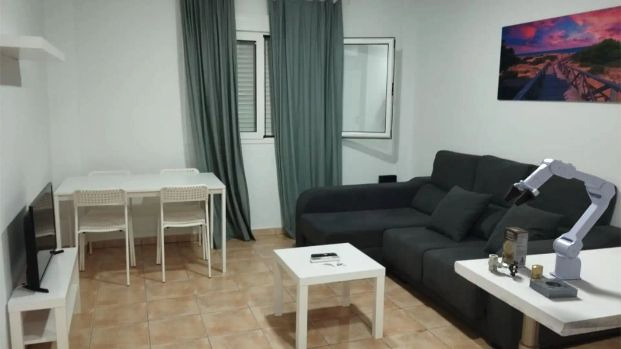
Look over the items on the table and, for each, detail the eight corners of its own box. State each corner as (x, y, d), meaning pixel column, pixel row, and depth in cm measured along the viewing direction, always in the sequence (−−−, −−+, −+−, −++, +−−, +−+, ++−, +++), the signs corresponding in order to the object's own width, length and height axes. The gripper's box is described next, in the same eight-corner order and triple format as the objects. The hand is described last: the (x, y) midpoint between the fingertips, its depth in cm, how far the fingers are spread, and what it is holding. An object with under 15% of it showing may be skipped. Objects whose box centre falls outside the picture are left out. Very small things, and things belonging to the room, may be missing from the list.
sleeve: (538, 273, 217) (539, 264, 216) (544, 276, 214) (545, 267, 213) (531, 273, 216) (532, 264, 216) (536, 276, 213) (537, 267, 212)
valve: (484, 270, 219) (511, 278, 211) (485, 255, 218) (512, 262, 210) (491, 267, 224) (518, 274, 215) (492, 252, 223) (519, 259, 214)
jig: (556, 285, 203) (557, 278, 203) (577, 296, 192) (577, 289, 191) (529, 286, 201) (530, 279, 201) (548, 298, 189) (549, 290, 189)
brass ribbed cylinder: (537, 278, 211) (538, 264, 210) (543, 282, 207) (544, 267, 206) (528, 279, 210) (529, 265, 209) (534, 282, 206) (535, 268, 205)
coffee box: (500, 261, 233) (503, 227, 230) (512, 260, 234) (515, 226, 232) (514, 267, 224) (517, 232, 221) (526, 266, 226) (529, 231, 223)
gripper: (519, 170, 211) (495, 191, 210) (541, 176, 197) (515, 198, 196) (528, 183, 212) (504, 204, 212) (550, 189, 198) (524, 212, 198)
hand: (510, 202), depth 204 cm, fingers open, 7 cm apart
